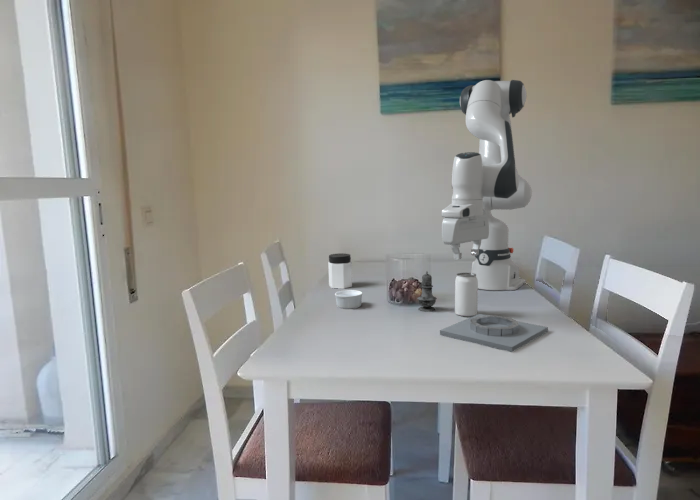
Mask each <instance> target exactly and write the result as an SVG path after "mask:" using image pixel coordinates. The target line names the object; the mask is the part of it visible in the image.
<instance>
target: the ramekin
mask: <svg viewBox="0 0 700 500" xmlns="http://www.w3.org/2000/svg"><path fill="white" fill-rule="evenodd" d="M334 296H335V303H336V307H337V308H340V309H343V310H349V309H350V310H353V309H357V308H360V307H361V306H362V301H363V300H362V299H363V292H362V291H360V290H355V289H347V290H346V289H345V290H343V289H342V290H338V291H336V292H335V293H334Z"/></svg>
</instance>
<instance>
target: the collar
mask: <svg viewBox="0 0 700 500" xmlns="http://www.w3.org/2000/svg"><path fill="white" fill-rule="evenodd" d="M485 315H486V316H477V317H475V318H472V319H471V320H470V330H472V331H474V332H476V333H479V334H483V335H488V336H508V335H513V334H515V333H517V332H519V324H518V320H516V319H515V318H512V317H508V316H503V315H502V316H501V315H489V314H485ZM487 315H488V316H487ZM488 323H491V324H501V325H506V326H507V327H488V326H483V325H481V324H488Z"/></svg>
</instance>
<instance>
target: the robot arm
mask: <svg viewBox="0 0 700 500" xmlns="http://www.w3.org/2000/svg"><path fill="white" fill-rule="evenodd" d="M460 92H461V93H460V96H459V105H460V106H459V107H460V109H461V112H462V114H463V115H465V126H466V128H467V130H468V131H469V133H470V134H471V135H472V136H473V137H475V138H476V139H477V138H478V141H479V142H478V143H479V144H478V147H479V148H478V152H475V151H474V152H472V151H470V152H469V151H468V152H461V153H458V154H456V155H455V156H454V158H453V162H452V163H453V164H452V168H451V169H452V170H451V189H452V195H451V203H449V204H448V205H447V206H446V207H444V208H443V209H441V217H442V218H443V219H442V222H441V241H442V243H443V244H444V245H449V246H450V247H451V250H452V253H453V260H461V259H462V255H463V254H462V252H461V250H460V248H461V244H465V243H472V244H473V245H472V248H471V249H470V255H472V256H474V257H475V260H473V261H472V265H471V273H474V274H476V277H477V279H478V290H487V291H506V290H507V291H508V290H509V291H515V290H518V289H519V288H521V286H523V285H524V284H526V282H527V281H526V279H524V278H520V268H519V265H517V264H516V263H515V262H514V260H512V257H511V255H512V254H513V253H514V251H515V250H514V248H513V247H509V232H510V231H509V227H508V225H507V223H506V222H504V221H502V220H500V219H498V218H496V217H494V216H493V215H492V211H493V210H501V211H502V210H509V211H510V210H517V209H522V208H525V207H526V206H528V204H529V203H530V201H531V199H532V196H533V195H532V194H533V191H532V188H531V185H530V183H529V182H528V181H527V180H526V179H524V178H523V177H522V176H521V175H520V174H519V172H518V170H517V165H516V158H515V147H514V146H515V145H514V139H513V131H512V121H511V117H512V118H515V117H516V114H518V113H519V112H521V111H522V110H523V109H524V107H525V103H526V101H527V97H528V96H527V89H526V87H525V84H524V83H523V82H522V81H521V80H518V79H511V80H491V79H485V80H482V81H479V82H477V83H476V84H475V85H474V84H471V85H468V86H466V87H464V88H463V89H462V91H460ZM510 115H511V116H510ZM523 283H524V284H523Z"/></svg>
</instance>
